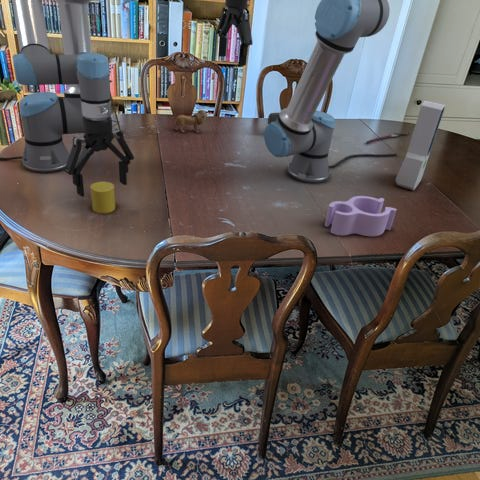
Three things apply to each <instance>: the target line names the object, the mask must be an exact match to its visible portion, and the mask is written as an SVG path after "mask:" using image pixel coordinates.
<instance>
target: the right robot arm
mask: <svg viewBox="0 0 480 480" xmlns="http://www.w3.org/2000/svg"><path fill="white" fill-rule="evenodd" d="M248 2H249V0H225V1H224V3H225V4H224V6H225V7H222V9H221V15H220V18H219V21H218V25H217V27H216V30H215V34H216V35H217V36H218V37H219V39H218V57H219V58H220V57H221V58H222V57H227V45H228V33H229V31H230V30H231V28H232V27H233V26H234V27H235V28H236V31H237V33H238V38H239V40H240V44H239V51H238V62H237V65H238V66H239V67H240V66H241V67H243V66H247V56H248V51H249V46H253V36H252V30H251V22H250V18H251V17H250V15H251V14H250V13H245V9H248V4H249V3H248ZM390 12H391V11H390V4H389V1H388V0H320V2H319V3H318V5H317V6H316V10H315V14H314V20H315V22H314V27H315V30H316V31H315V34H314V35H315V38H316V44H315V46H314V48H313V50H312V52H311V55H310V57H309V59H308V61H307V63H306V65H305V68H304V69H303V72H302V74H301V77H300V79H299V81H298V84H297V85H296V87H295V90H294V92H293V94H292V97H291V98H290V101H289V103H288V105H287V107H285V108H283V109H281V110H280V112H279V113H280V114H279V116H278V118H277V120H276V121H275V122H271V123H269V124H268V123H267V124H268V125H266V126H265V128H264V131H263V132H264V133H263V136H264V137H263V139H264V143H265V146H266V148H267V150H268V152H270V154H271V155H273V156H274V157H276V158H286V157H290V156H293V157H292V159H291V160H290V161H291V162H289V164H288V165H287V174H288V175H289V176H290V177H291V178H292V179H294V180H297V181H299V182H304V183H307V184H321V183H324V182H326V181H328V180H329V178H330V169H331V168H335V167H338V166H340V164H342V163H343V162H345V161H346V160H348V159H350V158H355V157H394V156H395V157H397V155H398V154H397V153H381V154H380V153H379V154H377V153H375V154H374V153H361V154H351V155H347V156H345V157H344V158H343V159H341V160H340V161H338V162H337V163H335V164H332V165H329V153H330V147H331V144H332V138H333V134H334V130H335V123H336V120H335V118H334V116H333V115H331V114H329V113H327V112H323V111H320V110H317V109H318V108H319V106H320V103H321V102H322V99H323V98H324V96H325V94H326V91H327V90H328V88H329V86H330V84H331V82H332V80H333V78H334V76H335V75H336V72H337V70H338V68H339V66H340V65H341V63H342V61H343V59H344V57H345V55H347V54H350V53H352V52H353V51H354V49H355V47H356V45H357V43H358V41H359V39H360V38H369V37H372V36H375V35H376V34H379V33H380V32H381V31H382V30H383V29H384V27H385V26H386V25H387V23H388V21H389V18H390Z"/></svg>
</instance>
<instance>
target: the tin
mask: <svg viewBox="0 0 480 480" xmlns="http://www.w3.org/2000/svg"><path fill="white" fill-rule="evenodd" d="M90 196H91V207H92V208H91V209H92V210H93V212H94V213H97V214H108V213H109V214H110V213H112V212H113V211H114V212H115V210H116V193H115V185H114V183H112V182H109V181H96V182H94V183H92V184H90Z"/></svg>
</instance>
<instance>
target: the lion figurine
mask: <svg viewBox="0 0 480 480" xmlns="http://www.w3.org/2000/svg"><path fill="white" fill-rule="evenodd" d="M206 118H207V111H206V110H204V109H199V110H197V112H195V113H194V114H193V115H191V116H188V115H184V114H181V115H178V116H177V117H176V119H175V122H174V126H173V128H172V129H171V131H175V130H176V131H178V130H180V132H181V133H183V134H184V133H185V132H186V131H185V130H184V129H183V127H184V125H187V126H193V128H192V129H193V131H195V133H197V134H198V133H200V131H199V126H201V125H203V123H204V122H205V121H206ZM178 126H179V128H178Z"/></svg>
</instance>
